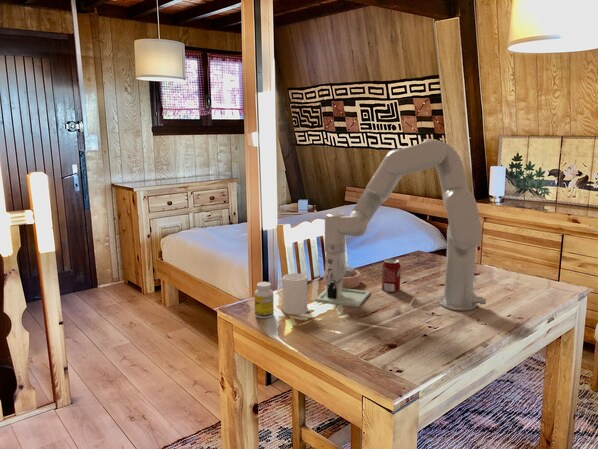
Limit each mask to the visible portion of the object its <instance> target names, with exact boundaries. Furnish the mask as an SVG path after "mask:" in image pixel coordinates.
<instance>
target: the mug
mask: <svg viewBox="0 0 598 449" xmlns="http://www.w3.org/2000/svg"><path fill="white" fill-rule="evenodd" d="M282 282H283V284H282V285H283V286H282V288H283V289H282V290H283V294H282V293H281V290H280V286H281V283H282ZM276 288H277V292H278V295H279V297H280V298H281V299H282V300H283V302H282V303H283V305H282V306H283V307H282V312H283V313H285V314H287V315H291V316H292V315H295V316H296V315H297V316H298V315H304V313H305V312H307V311H308V276H307V275H306V274H303V273H296V272H295V273H292V272H291V273H287V274H285V275H283V277H282V278H281V279H279V281H278V283H277V286H276Z"/></svg>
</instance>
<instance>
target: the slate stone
mask: <svg viewBox="0 0 598 449" xmlns="http://www.w3.org/2000/svg"><path fill="white" fill-rule="evenodd" d="M355 270H356V267H355V268H354V267H349V266H346V273H345V275H344V276H343V277H352V276H355Z"/></svg>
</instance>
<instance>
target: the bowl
mask: <svg viewBox="0 0 598 449" xmlns="http://www.w3.org/2000/svg"><path fill="white" fill-rule="evenodd" d="M332 279H333V278H332ZM322 280H323V284H324V285H325V286H326V287H327V283H326V281H327V279H326V278H325V270H323V279H322ZM341 280H343V282H342V288H347V289H353V288H355V287H358V286H360V285H361V272H360V270H357V269H355V276H352V277H342V278H341Z"/></svg>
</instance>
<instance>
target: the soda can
mask: <svg viewBox="0 0 598 449" xmlns="http://www.w3.org/2000/svg"><path fill="white" fill-rule="evenodd" d="M401 269H402V265H401V263H400V260H399V259H397V258H386V259H384V262H383V263H382V269H381V270H382V271H381V272H382V273H381V275H382V276H381V290H382V291H383V292H387V293H398V292H399V291H401Z"/></svg>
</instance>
